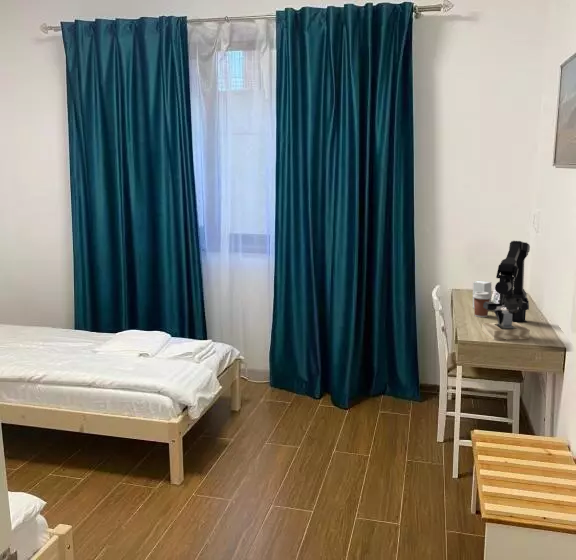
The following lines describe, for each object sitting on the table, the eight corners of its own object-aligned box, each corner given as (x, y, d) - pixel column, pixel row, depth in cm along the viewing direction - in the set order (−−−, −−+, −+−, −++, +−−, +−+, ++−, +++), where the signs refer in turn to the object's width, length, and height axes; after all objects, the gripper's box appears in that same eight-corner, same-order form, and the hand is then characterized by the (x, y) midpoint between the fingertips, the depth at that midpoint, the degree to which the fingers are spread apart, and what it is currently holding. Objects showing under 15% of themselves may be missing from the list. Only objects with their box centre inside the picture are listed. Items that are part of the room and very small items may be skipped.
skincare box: (491, 309, 327) (492, 282, 324) (484, 311, 323) (485, 283, 321) (478, 306, 333) (480, 279, 331) (471, 308, 330) (472, 281, 328)
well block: (515, 330, 284) (516, 322, 283) (529, 338, 270) (529, 330, 270) (481, 331, 283) (482, 323, 282) (493, 339, 269) (494, 331, 269)
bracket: (506, 325, 280) (506, 310, 279) (513, 329, 272) (514, 314, 271) (497, 325, 280) (498, 310, 279) (504, 330, 272) (505, 314, 271)
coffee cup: (494, 316, 310) (495, 293, 308) (478, 318, 308) (479, 295, 305) (483, 313, 319) (484, 290, 317) (468, 314, 316) (469, 291, 314)
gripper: (493, 294, 266) (491, 329, 268) (535, 293, 267) (532, 327, 270) (483, 289, 277) (482, 322, 279) (523, 288, 278) (521, 321, 281)
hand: (504, 323), depth 277 cm, fingers closed on bracket, 4 cm apart
